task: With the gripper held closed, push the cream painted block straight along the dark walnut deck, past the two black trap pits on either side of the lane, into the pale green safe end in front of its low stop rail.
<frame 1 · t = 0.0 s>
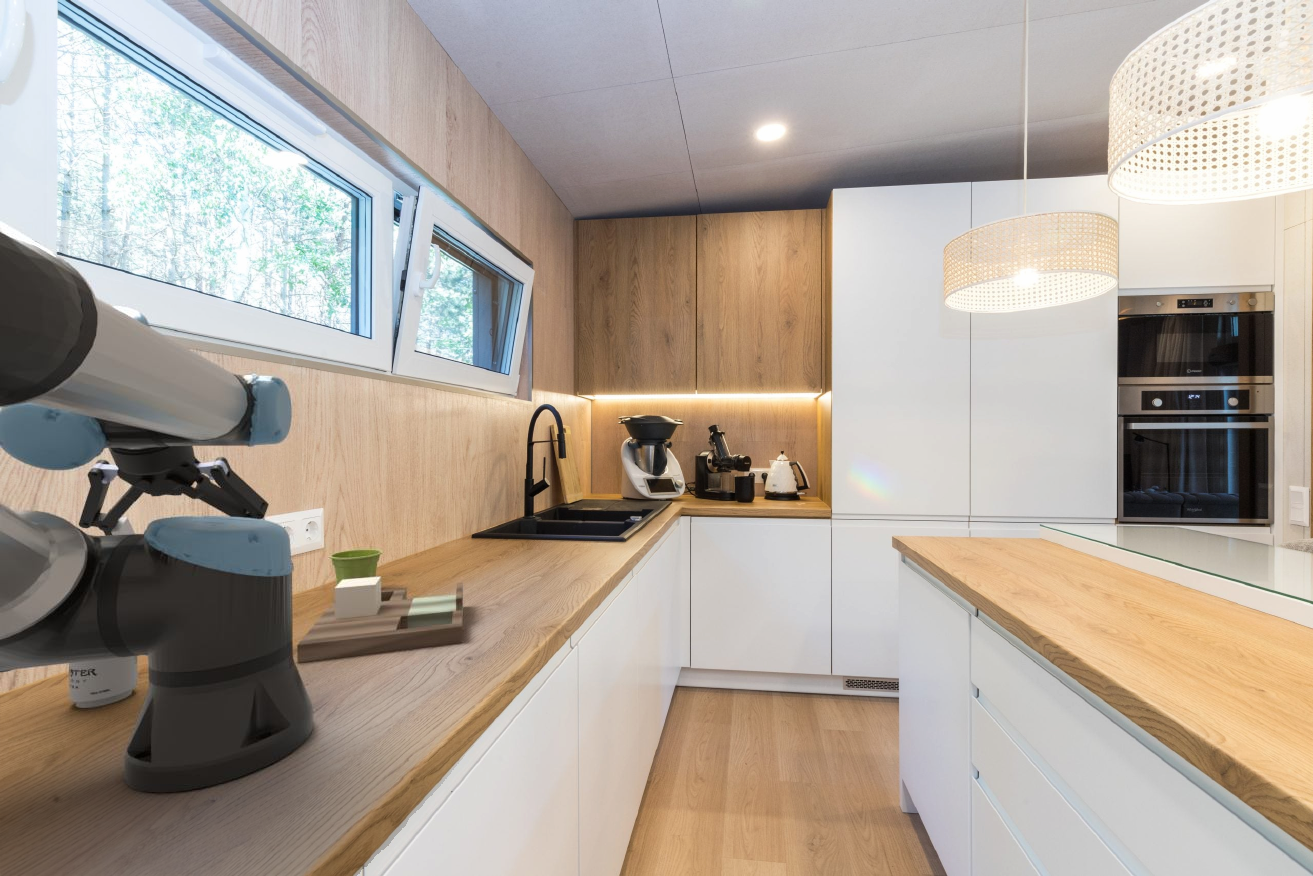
hand: (195, 555, 81), 15 cm above the countertop, tool tilted 35°, fingers open, 13 cm apart
plant pot: (356, 597, 115), on the countertop
energy drink can: (104, 700, 70), on the countertop
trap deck: (391, 623, 97), on the countertop
block: (359, 611, 96), point 2 cm above the countertop, touching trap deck
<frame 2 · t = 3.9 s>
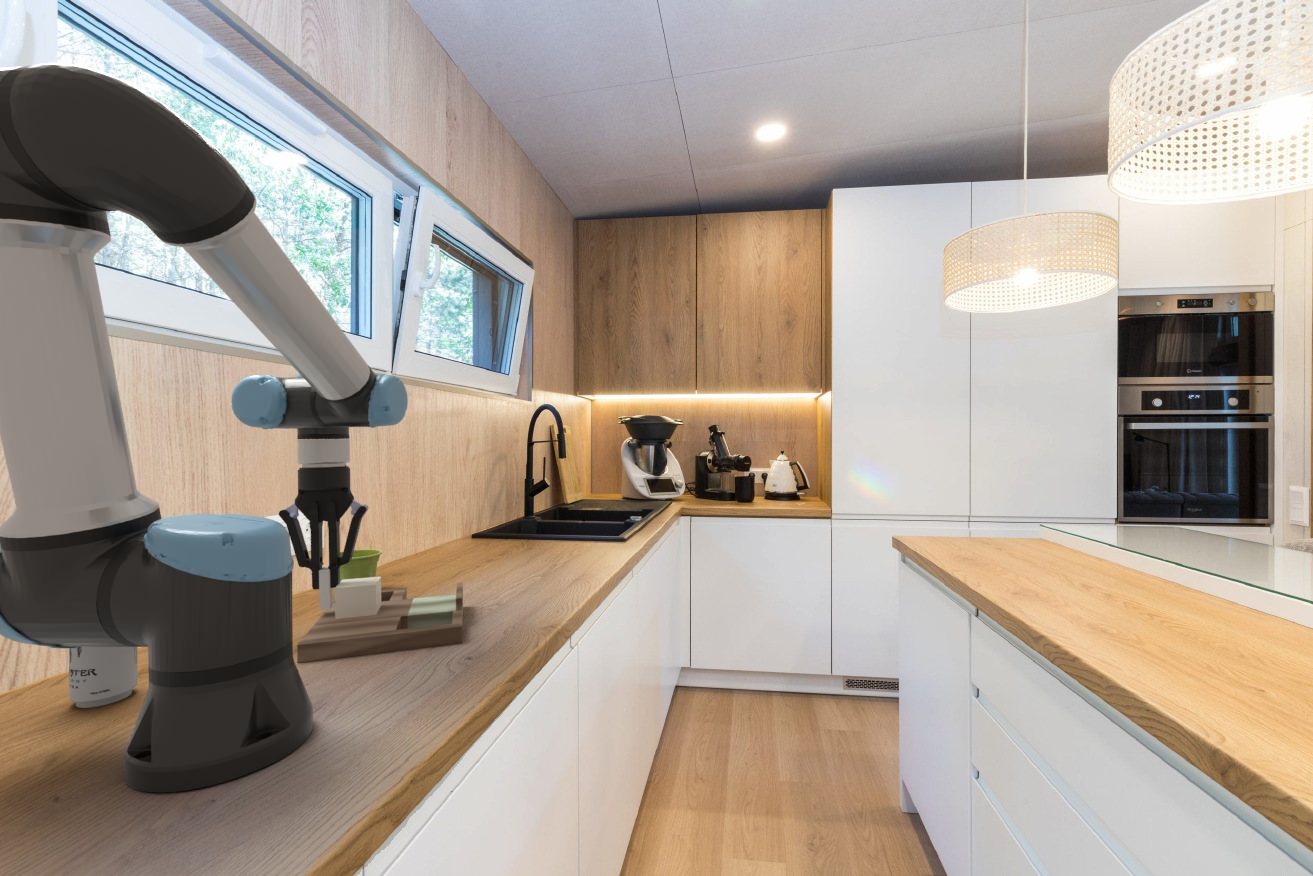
hand: (326, 607, 94), 4 cm above the countertop, tool pointing down, fingers closed
block: (359, 611, 96), point 3 cm above the countertop, touching gripper, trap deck
everything else where it was.
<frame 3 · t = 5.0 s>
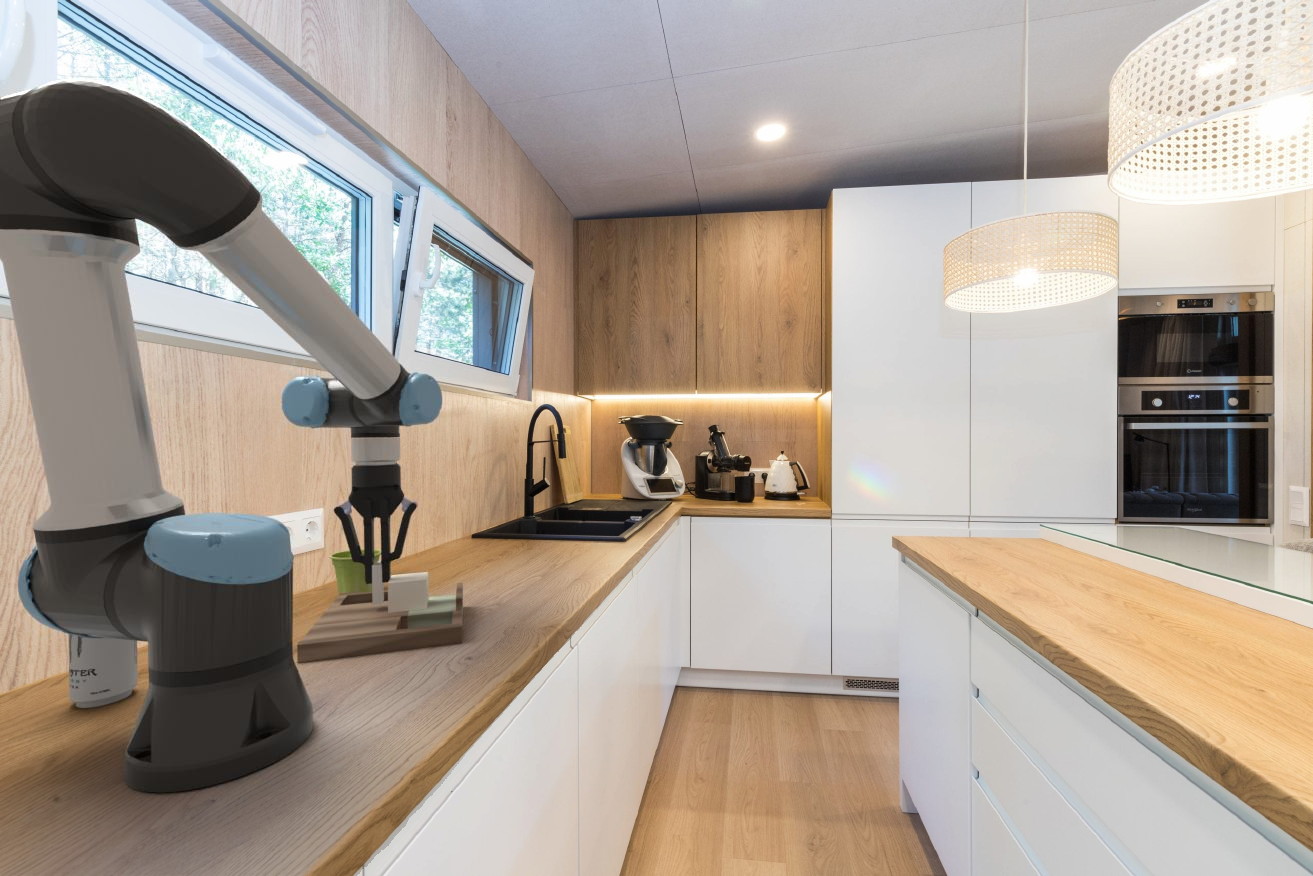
hand: (378, 601, 97), 4 cm above the countertop, tool pointing down, fingers closed
block: (409, 606, 98), point 3 cm above the countertop, touching gripper
everything else where it was.
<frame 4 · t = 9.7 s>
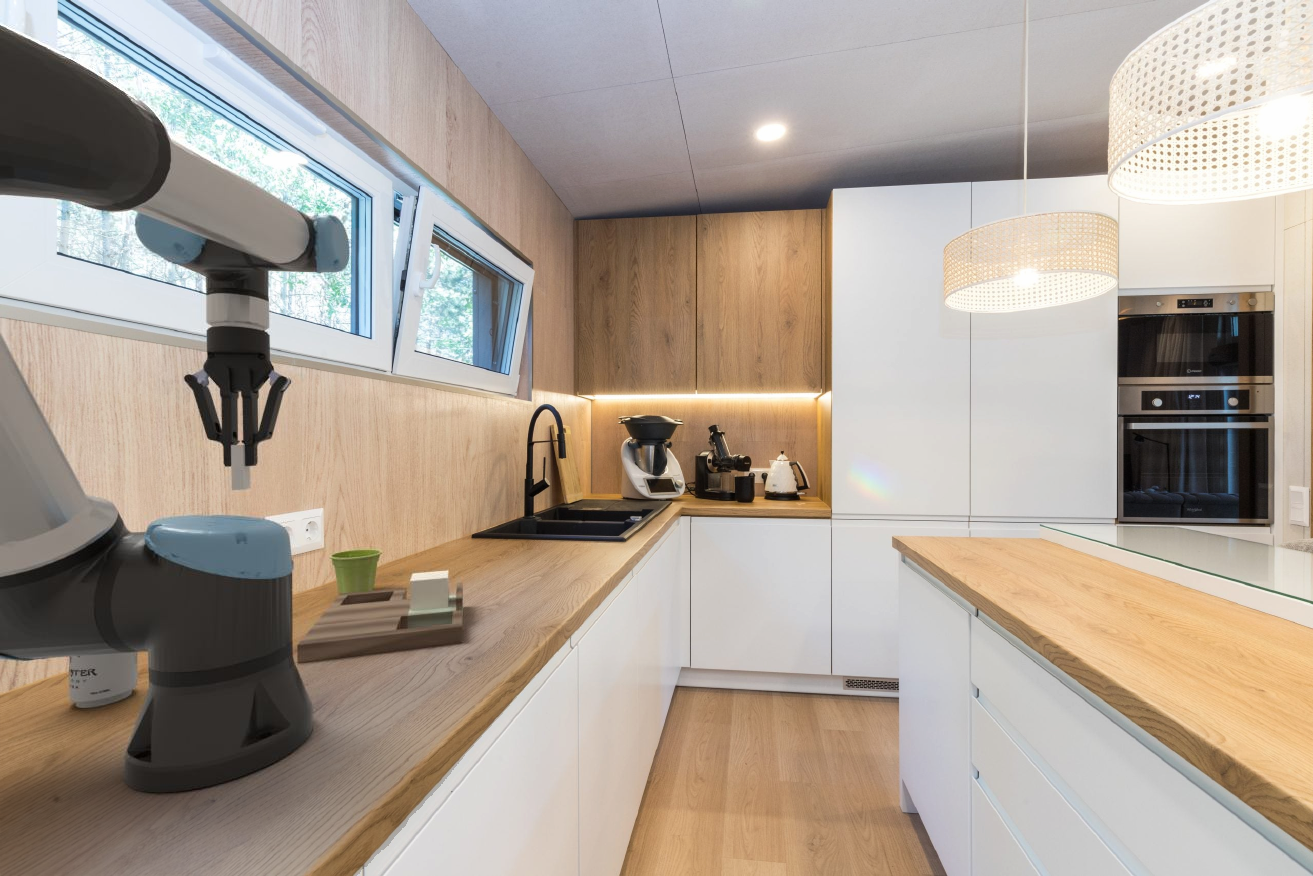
hand: (241, 488, 84), 24 cm above the countertop, tool pointing down, fingers closed
block: (430, 604, 100), point 2 cm above the countertop, touching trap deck
everything else where it was.
at the end: block inside the target area (0.5 cm from its centre), point 2.5 cm above the countertop; block tilted 0° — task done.
